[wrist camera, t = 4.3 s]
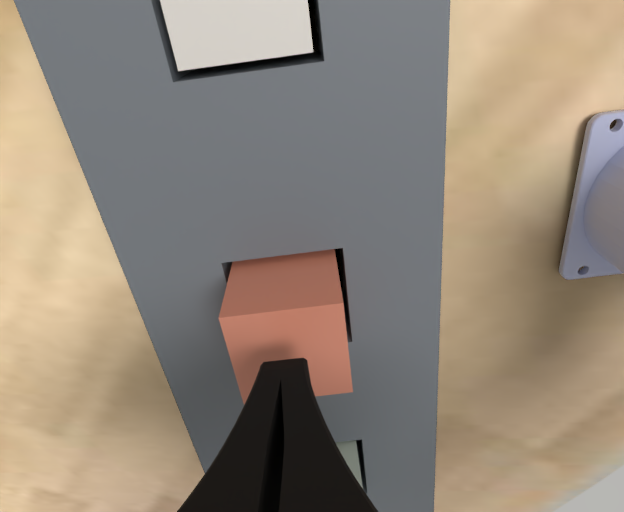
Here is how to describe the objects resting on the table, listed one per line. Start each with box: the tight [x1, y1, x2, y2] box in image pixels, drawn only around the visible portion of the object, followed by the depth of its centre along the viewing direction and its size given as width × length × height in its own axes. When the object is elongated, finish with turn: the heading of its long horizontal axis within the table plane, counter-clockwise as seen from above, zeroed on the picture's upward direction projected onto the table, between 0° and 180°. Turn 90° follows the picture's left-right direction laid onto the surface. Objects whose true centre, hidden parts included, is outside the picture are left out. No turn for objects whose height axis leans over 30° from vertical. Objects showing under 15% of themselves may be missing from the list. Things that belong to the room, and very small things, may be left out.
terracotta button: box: [219, 249, 353, 404], centre depth 16 cm, size 4×4×4 cm
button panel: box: [14, 0, 450, 512], centre depth 19 cm, size 12×32×4 cm, turn 7°
